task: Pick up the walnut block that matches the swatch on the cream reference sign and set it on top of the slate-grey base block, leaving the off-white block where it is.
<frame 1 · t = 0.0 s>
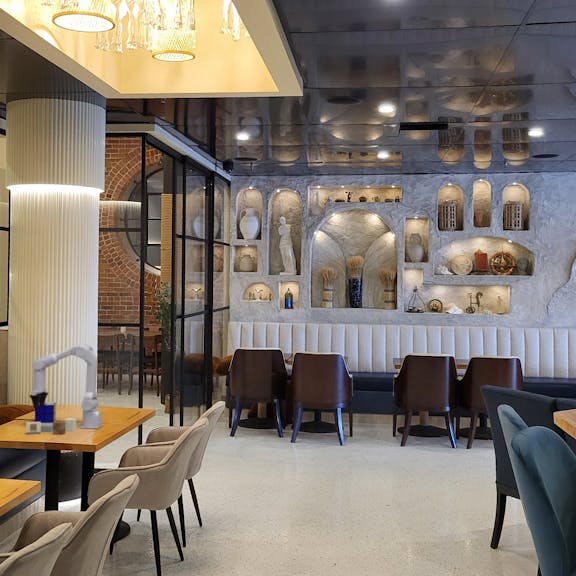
hand: (38, 407, 398), 10 cm above the table, fingers open, 7 cm apart
base block: (46, 431, 386), on the table
walnut block: (59, 434, 377), on the table
off-white block: (70, 430, 387), on the table
puzzle cube: (45, 422, 412), on the table
reference sign: (33, 433, 377), on the table
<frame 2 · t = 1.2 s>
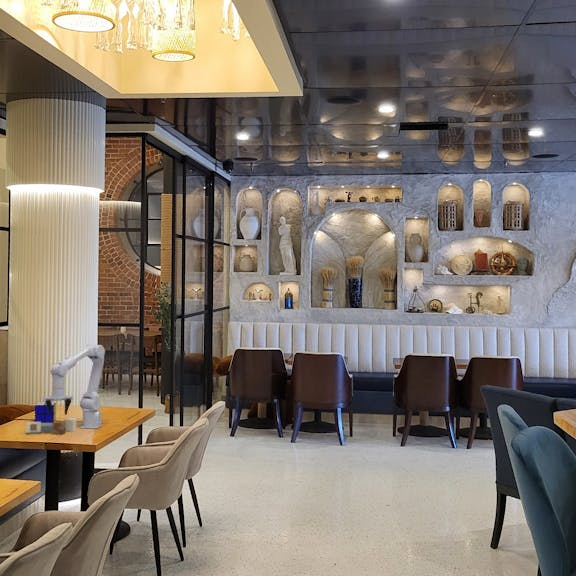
hand: (58, 414, 378), 9 cm above the table, fingers open, 7 cm apart
nothing on the table moved.
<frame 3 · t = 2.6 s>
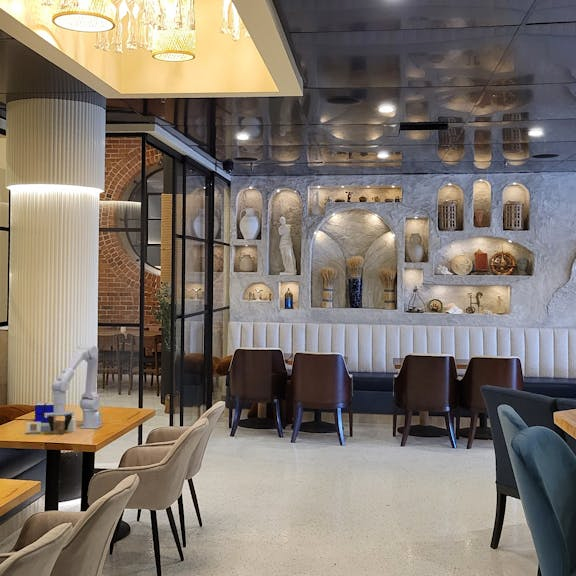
hand: (59, 430, 377), 2 cm above the table, fingers closed on walnut block, 7 cm apart
walnut block: (59, 433, 377), on the table, touching gripper
everything else where it was.
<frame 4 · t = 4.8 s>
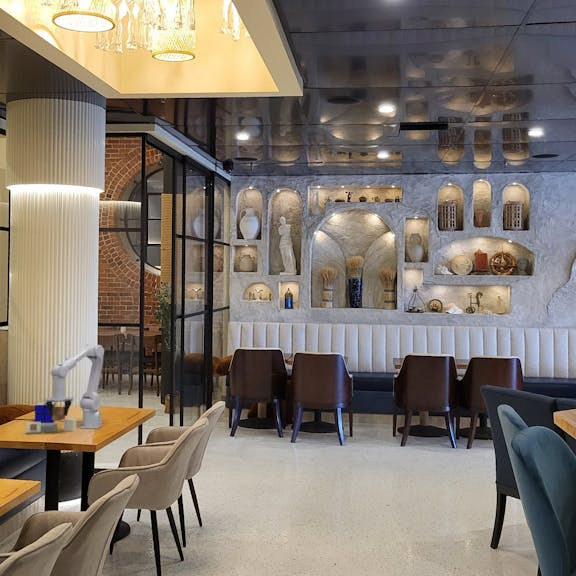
hand: (58, 416, 378), 9 cm above the table, fingers closed on walnut block, 7 cm apart
walnut block: (58, 419, 378), point 7 cm above the table, touching gripper
everything else where it was.
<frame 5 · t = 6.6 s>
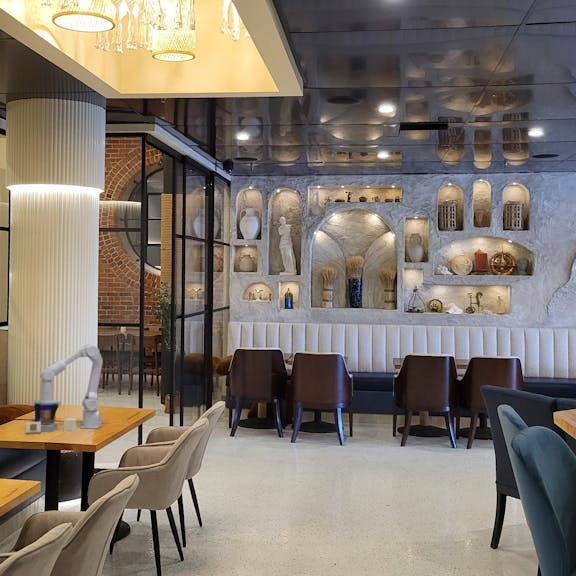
hand: (46, 418, 386), 6 cm above the table, fingers closed on walnut block, 6 cm apart
walnut block: (46, 422, 386), point 4 cm above the table, touching gripper
everything else where it was.
when the fingers open (6 cm above the table, at t = 7.2 s): walnut block drops 1 cm, resting on base block.
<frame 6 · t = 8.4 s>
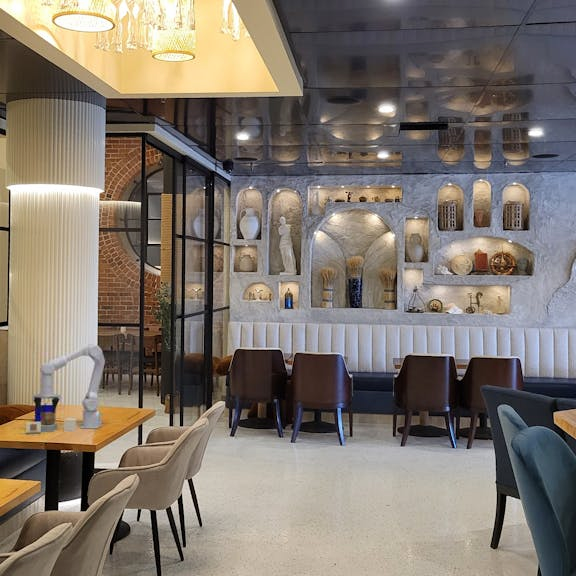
hand: (46, 412, 386), 9 cm above the table, fingers open, 7 cm apart
base block: (46, 431, 386), on the table, touching walnut block
walnut block: (47, 424, 386), point 3 cm above the table, tilted 5°, touching base block
everything else where it was.
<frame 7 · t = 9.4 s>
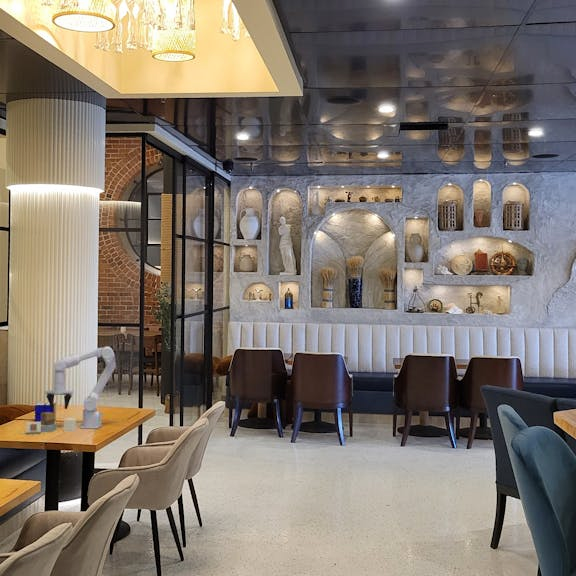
hand: (59, 408, 392), 10 cm above the table, fingers open, 7 cm apart
nothing on the table moved.
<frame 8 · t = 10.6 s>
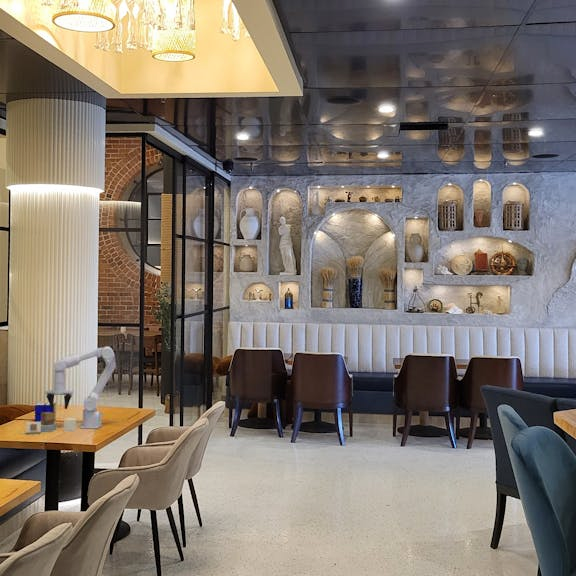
hand: (59, 408, 392), 10 cm above the table, fingers open, 7 cm apart
nothing on the table moved.
at the end: walnut block 0.8 cm off-centre on the base block, point 3.5 cm above the base block's base; walnut block tilted 1°; off-white block moved 0.1 cm from its start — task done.
